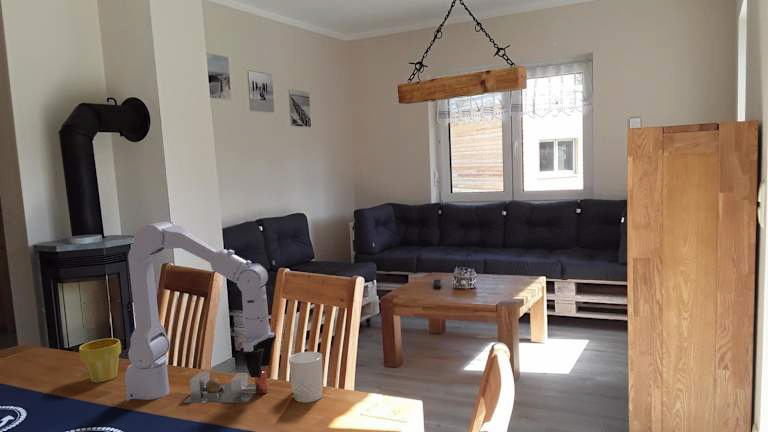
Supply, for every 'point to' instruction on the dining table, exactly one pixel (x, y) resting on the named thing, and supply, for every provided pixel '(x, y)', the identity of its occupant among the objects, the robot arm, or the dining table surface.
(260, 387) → the ram handle
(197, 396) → the bench
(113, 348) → the plant pot
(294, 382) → the white cup
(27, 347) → the dining table surface
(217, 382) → the nut
